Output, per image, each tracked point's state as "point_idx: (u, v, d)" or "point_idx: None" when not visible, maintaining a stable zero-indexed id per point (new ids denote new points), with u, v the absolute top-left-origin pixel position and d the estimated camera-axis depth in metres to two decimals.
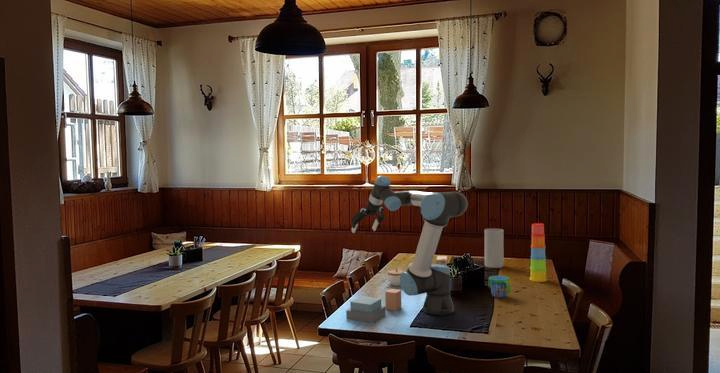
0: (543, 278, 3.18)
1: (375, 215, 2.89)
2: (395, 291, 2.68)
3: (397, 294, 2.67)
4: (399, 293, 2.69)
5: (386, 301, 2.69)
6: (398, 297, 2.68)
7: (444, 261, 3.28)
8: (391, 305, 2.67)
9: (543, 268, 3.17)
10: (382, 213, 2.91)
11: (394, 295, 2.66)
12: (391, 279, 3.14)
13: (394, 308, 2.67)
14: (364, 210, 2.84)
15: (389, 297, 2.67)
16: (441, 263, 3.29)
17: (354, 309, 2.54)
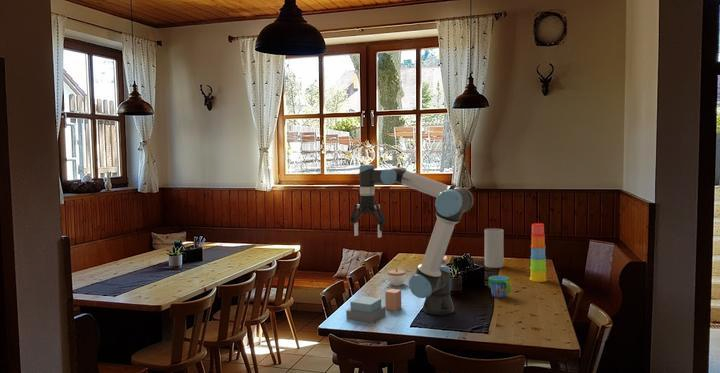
0: (543, 278, 3.18)
1: (370, 212, 2.67)
2: (395, 291, 2.68)
3: (397, 294, 2.67)
4: (399, 293, 2.69)
5: (386, 301, 2.69)
6: (398, 297, 2.68)
7: (444, 261, 3.28)
8: (391, 305, 2.67)
9: (543, 268, 3.17)
10: (379, 211, 2.65)
11: (394, 295, 2.66)
12: (391, 279, 3.14)
13: (394, 308, 2.67)
14: (358, 205, 2.71)
15: (389, 297, 2.67)
16: None
17: (354, 309, 2.54)
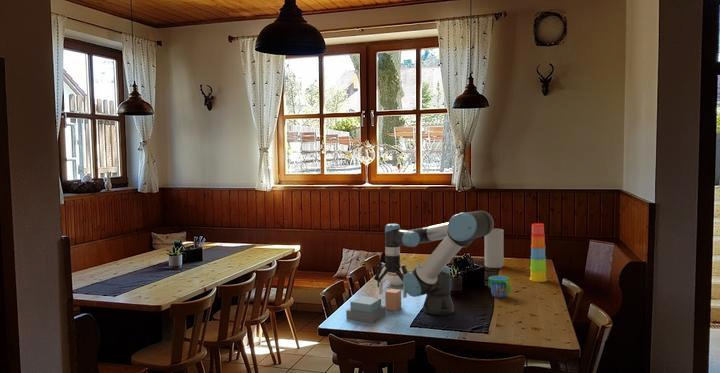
0: (543, 278, 3.18)
1: (395, 272, 2.66)
2: (395, 291, 2.68)
3: (397, 294, 2.67)
4: (399, 293, 2.69)
5: (386, 301, 2.69)
6: (398, 297, 2.68)
7: None
8: (391, 305, 2.67)
9: (543, 268, 3.17)
10: (404, 272, 2.64)
11: (394, 295, 2.66)
12: (391, 279, 3.14)
13: (394, 308, 2.67)
14: (383, 264, 2.71)
15: (389, 297, 2.67)
16: None
17: (354, 309, 2.54)
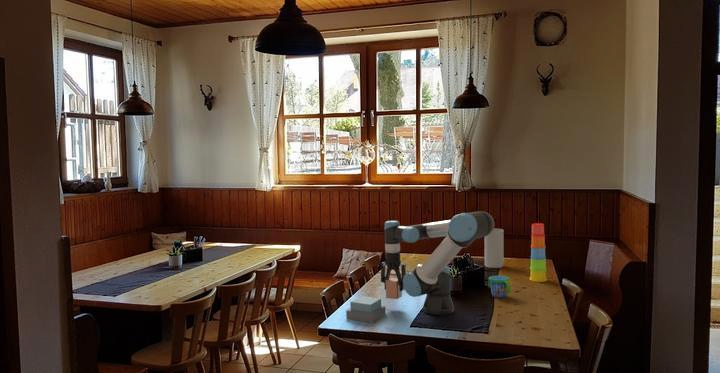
0: (543, 278, 3.18)
1: None
2: (395, 280, 2.68)
3: (397, 283, 2.66)
4: None
5: (386, 290, 2.68)
6: None
7: None
8: (392, 294, 2.66)
9: (543, 268, 3.17)
10: (402, 271, 2.65)
11: (395, 283, 2.65)
12: None
13: (395, 297, 2.66)
14: (383, 263, 2.71)
15: (390, 286, 2.67)
16: None
17: (354, 309, 2.54)
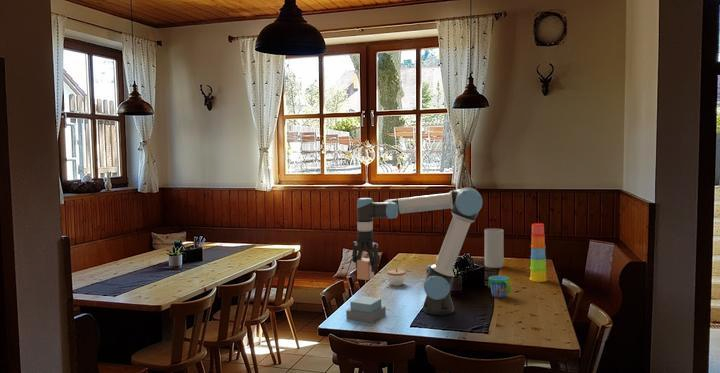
0: (543, 278, 3.18)
1: (366, 249, 2.53)
2: (367, 260, 2.55)
3: (369, 263, 2.54)
4: None
5: (358, 270, 2.55)
6: None
7: None
8: (363, 275, 2.54)
9: (543, 268, 3.17)
10: (374, 251, 2.52)
11: (366, 263, 2.52)
12: (391, 279, 3.14)
13: (366, 277, 2.53)
14: (355, 242, 2.58)
15: (361, 266, 2.54)
16: None
17: (354, 309, 2.54)
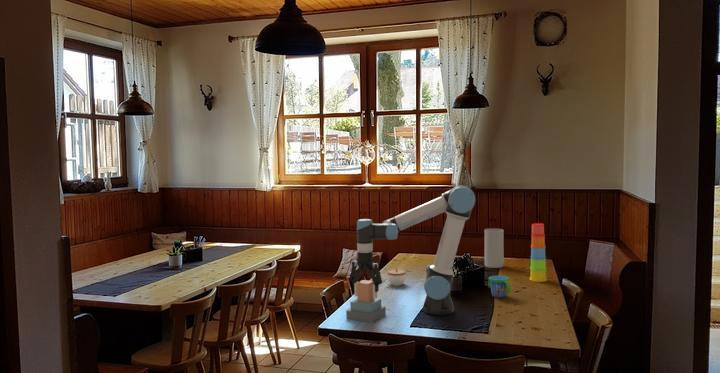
0: (543, 278, 3.18)
1: (367, 270, 2.53)
2: (367, 282, 2.55)
3: (369, 285, 2.54)
4: (372, 284, 2.56)
5: (358, 293, 2.55)
6: (371, 289, 2.55)
7: None
8: (364, 297, 2.54)
9: (543, 268, 3.17)
10: (376, 271, 2.52)
11: (367, 286, 2.53)
12: (391, 279, 3.14)
13: (366, 300, 2.53)
14: (355, 262, 2.58)
15: (361, 289, 2.54)
16: None
17: (354, 309, 2.54)
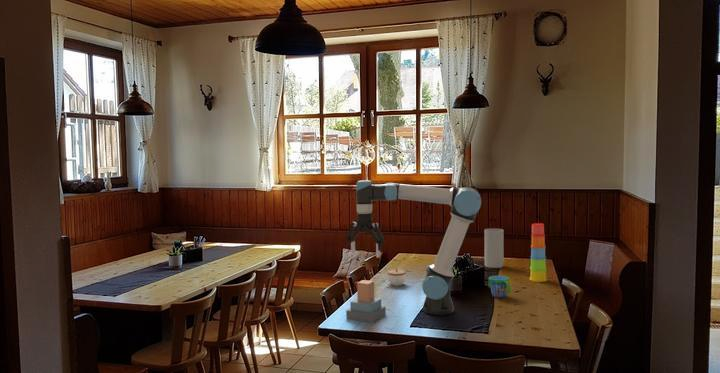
0: (543, 278, 3.18)
1: (368, 231, 2.54)
2: (367, 282, 2.55)
3: (369, 285, 2.54)
4: (372, 284, 2.56)
5: (358, 293, 2.55)
6: (371, 289, 2.55)
7: None
8: (364, 297, 2.54)
9: (543, 268, 3.17)
10: (377, 230, 2.52)
11: (367, 286, 2.53)
12: (391, 279, 3.14)
13: (366, 300, 2.53)
14: (355, 223, 2.58)
15: (361, 289, 2.54)
16: None
17: (354, 309, 2.54)
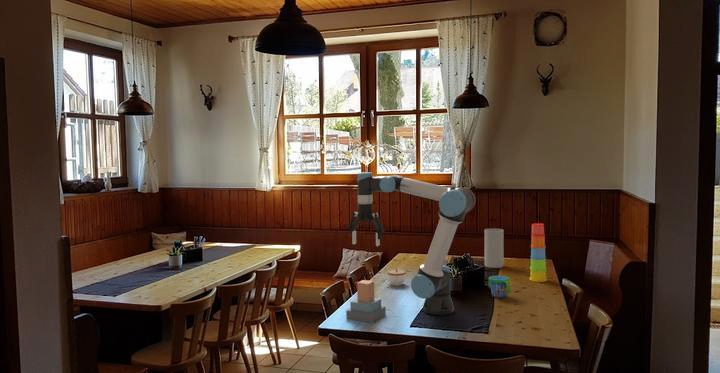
0: (543, 278, 3.18)
1: None
2: (367, 282, 2.55)
3: (369, 285, 2.54)
4: (372, 284, 2.56)
5: (358, 293, 2.55)
6: (371, 289, 2.55)
7: None
8: (364, 297, 2.54)
9: (543, 268, 3.17)
10: (377, 220, 2.63)
11: (367, 286, 2.53)
12: (391, 279, 3.14)
13: (366, 300, 2.53)
14: (356, 213, 2.70)
15: (361, 289, 2.54)
16: None
17: (354, 309, 2.54)
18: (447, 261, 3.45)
